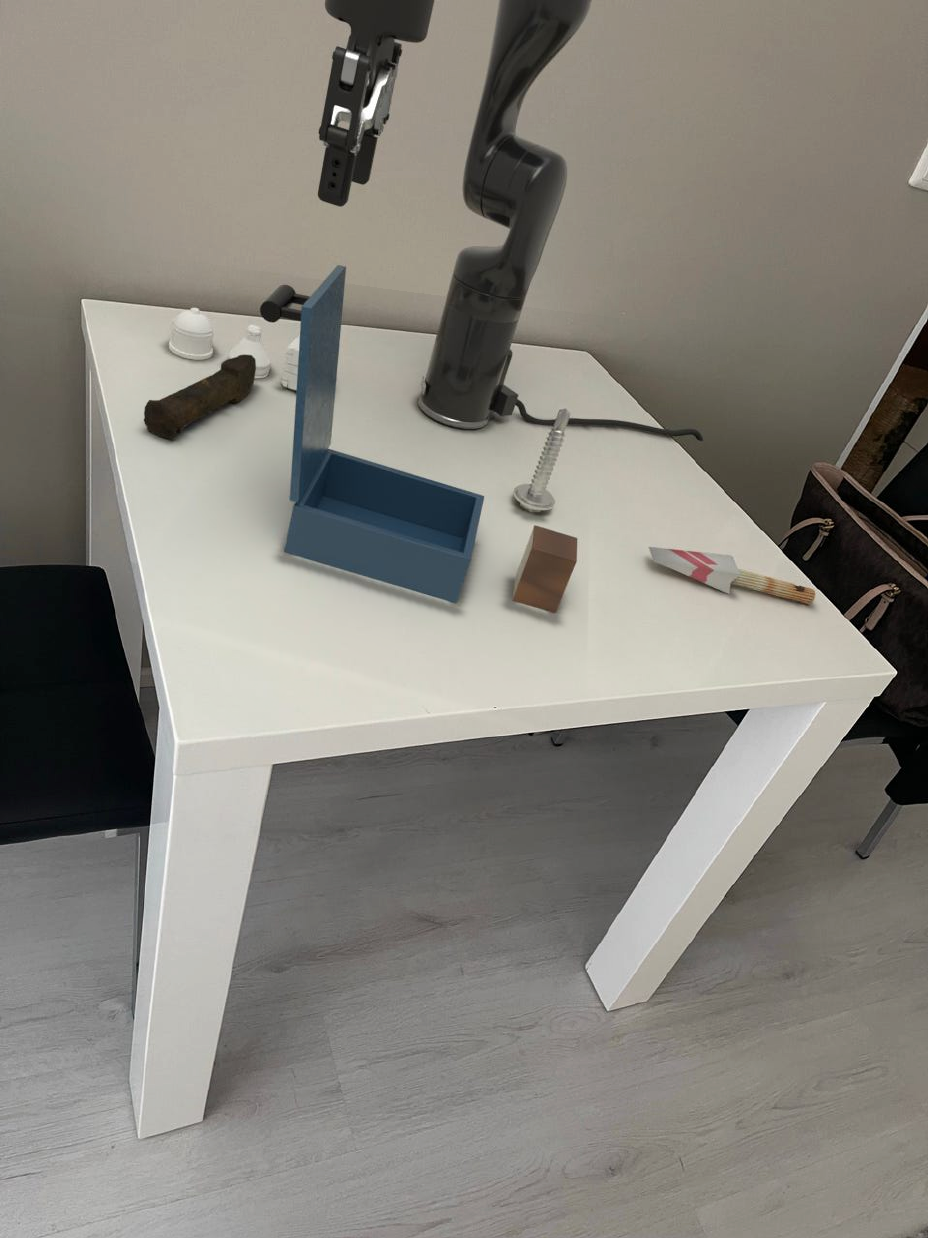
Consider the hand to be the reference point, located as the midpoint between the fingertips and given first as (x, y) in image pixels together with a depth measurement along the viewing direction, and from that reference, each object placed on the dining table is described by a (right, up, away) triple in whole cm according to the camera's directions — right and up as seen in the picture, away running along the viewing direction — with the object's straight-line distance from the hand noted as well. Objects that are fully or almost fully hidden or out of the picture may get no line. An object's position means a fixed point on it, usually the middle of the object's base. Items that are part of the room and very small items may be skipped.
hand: (343, 191), depth 76 cm
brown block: (+16, -32, +19) cm, 41 cm away
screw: (+17, -22, +33) cm, 43 cm away
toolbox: (+1, -27, +19) cm, 33 cm away
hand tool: (-20, -10, +32) cm, 39 cm away
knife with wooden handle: (+39, -30, +32) cm, 59 cm away
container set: (-17, -3, +43) cm, 46 cm away
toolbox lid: (-3, -13, +9) cm, 16 cm away
